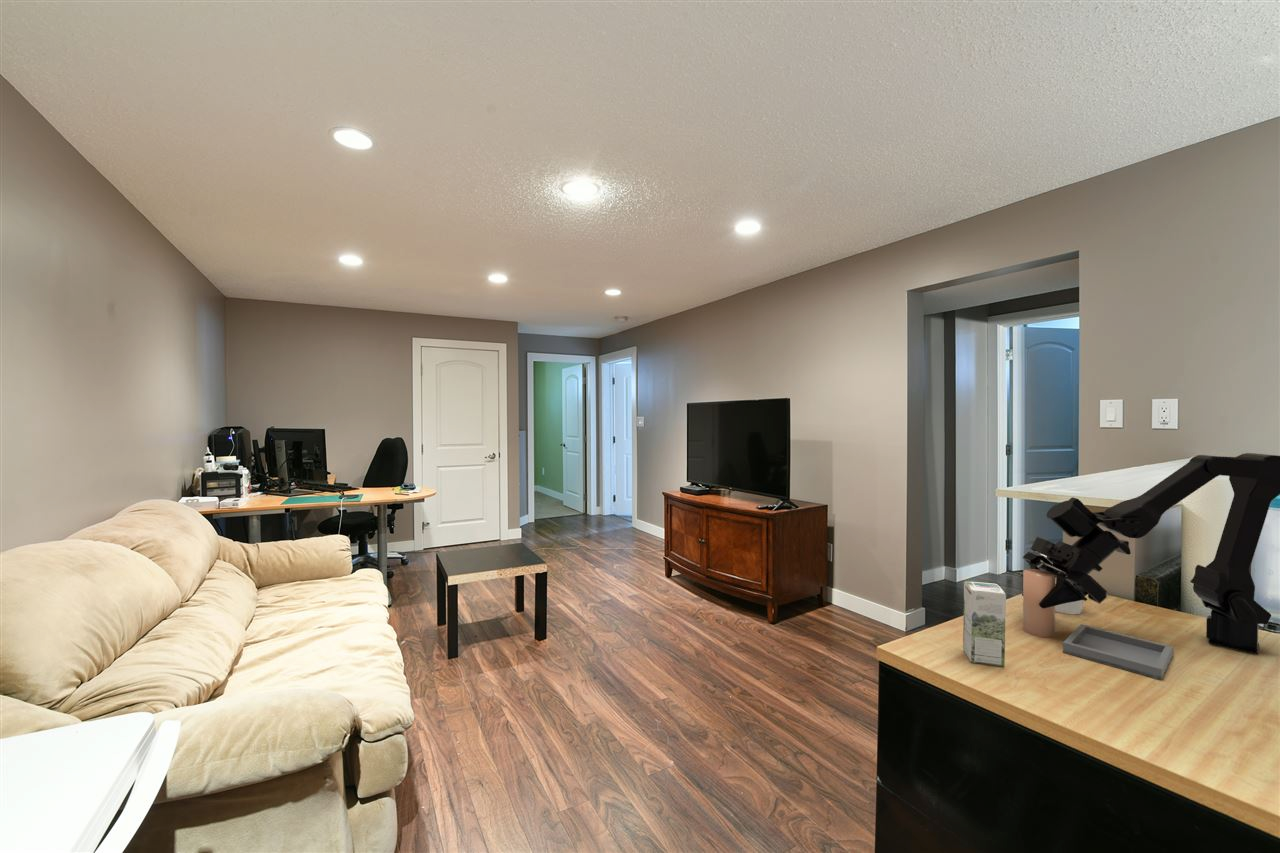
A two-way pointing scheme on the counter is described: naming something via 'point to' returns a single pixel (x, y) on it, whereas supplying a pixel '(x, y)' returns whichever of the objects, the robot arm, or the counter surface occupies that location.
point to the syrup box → (984, 623)
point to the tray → (1119, 651)
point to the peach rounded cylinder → (1033, 593)
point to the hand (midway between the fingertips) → (1031, 601)
